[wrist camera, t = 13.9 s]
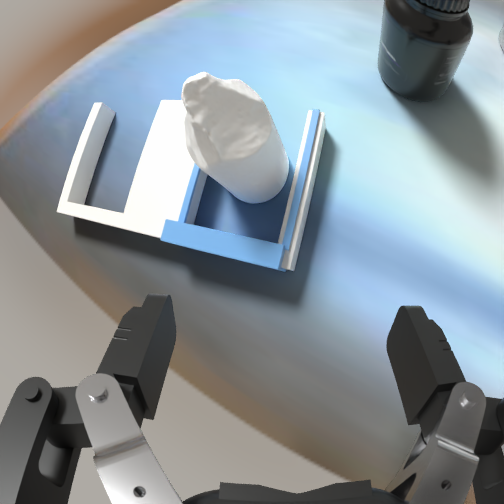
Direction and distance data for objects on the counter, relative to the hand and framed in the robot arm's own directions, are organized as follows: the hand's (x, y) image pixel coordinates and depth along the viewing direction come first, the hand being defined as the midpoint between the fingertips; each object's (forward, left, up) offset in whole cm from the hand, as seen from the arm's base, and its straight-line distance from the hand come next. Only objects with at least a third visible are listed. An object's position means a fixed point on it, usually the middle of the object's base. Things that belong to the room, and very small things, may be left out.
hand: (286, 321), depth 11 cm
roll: (-9, -7, -13) cm, 17 cm away
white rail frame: (-8, -13, -13) cm, 20 cm away
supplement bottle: (-21, +5, -13) cm, 26 cm away
